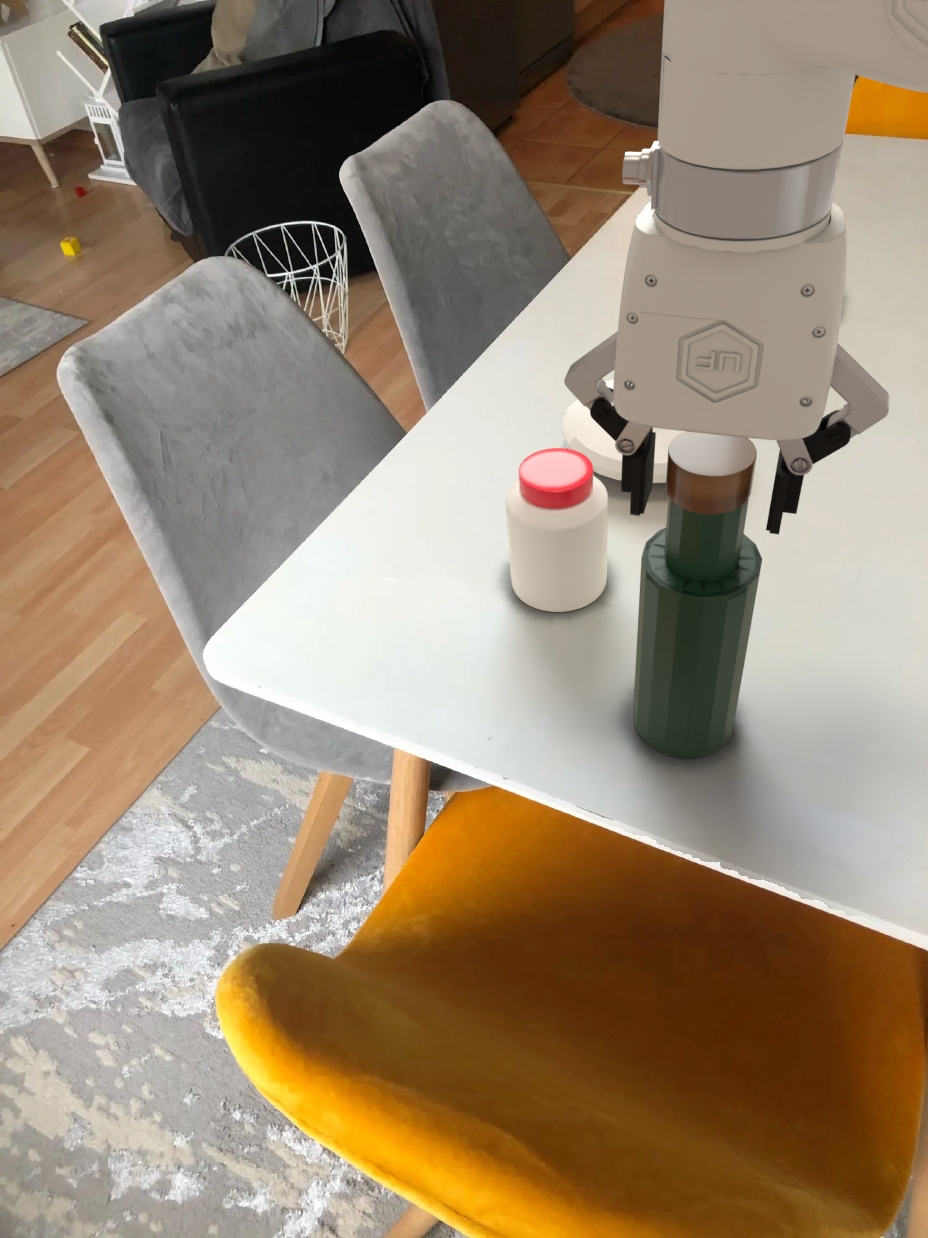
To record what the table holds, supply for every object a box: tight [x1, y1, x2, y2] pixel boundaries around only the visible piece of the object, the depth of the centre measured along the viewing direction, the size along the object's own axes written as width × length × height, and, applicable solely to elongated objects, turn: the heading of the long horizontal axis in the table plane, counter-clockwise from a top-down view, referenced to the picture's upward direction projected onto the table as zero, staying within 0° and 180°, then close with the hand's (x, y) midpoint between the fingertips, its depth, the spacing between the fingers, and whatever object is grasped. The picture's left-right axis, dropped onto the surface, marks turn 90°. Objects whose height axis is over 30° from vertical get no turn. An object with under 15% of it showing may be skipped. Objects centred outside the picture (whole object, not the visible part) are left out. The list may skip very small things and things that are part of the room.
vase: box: [561, 378, 686, 484], centre depth 87 cm, size 16×16×7 cm
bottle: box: [632, 497, 763, 759], centre depth 60 cm, size 7×7×20 cm
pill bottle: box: [505, 447, 609, 613], centre depth 74 cm, size 8×8×11 cm
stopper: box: [665, 431, 758, 514], centre depth 54 cm, size 5×5×7 cm
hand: (707, 507), depth 54 cm, fingers open, 6 cm apart
